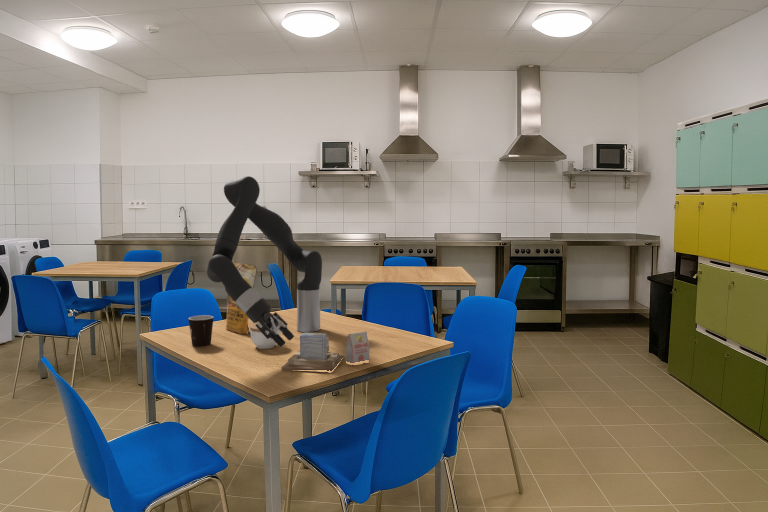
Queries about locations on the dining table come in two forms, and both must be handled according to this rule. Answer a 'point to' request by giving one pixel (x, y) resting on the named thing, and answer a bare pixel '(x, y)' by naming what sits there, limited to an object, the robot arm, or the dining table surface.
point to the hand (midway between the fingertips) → (287, 341)
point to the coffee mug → (201, 330)
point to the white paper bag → (357, 347)
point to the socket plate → (297, 367)
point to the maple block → (327, 344)
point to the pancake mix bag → (235, 315)
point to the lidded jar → (261, 338)
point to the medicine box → (313, 346)
